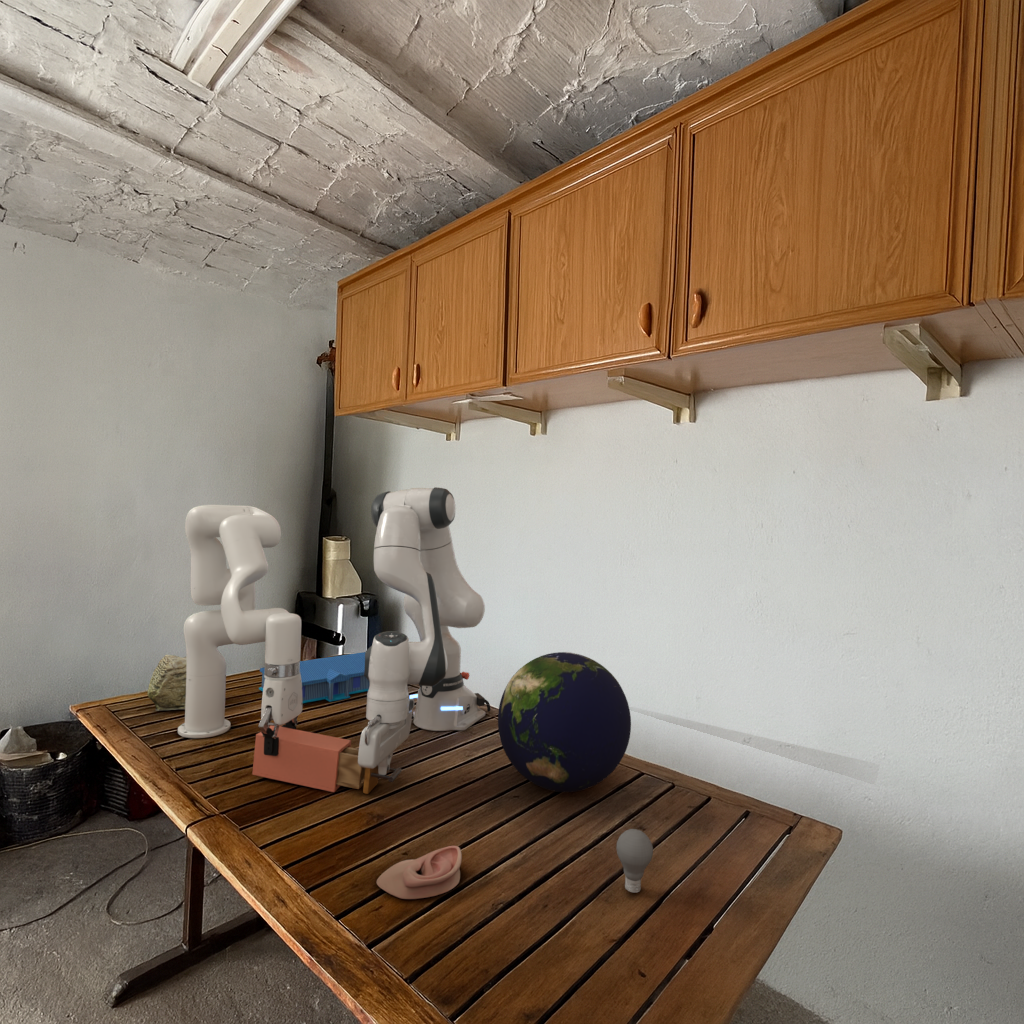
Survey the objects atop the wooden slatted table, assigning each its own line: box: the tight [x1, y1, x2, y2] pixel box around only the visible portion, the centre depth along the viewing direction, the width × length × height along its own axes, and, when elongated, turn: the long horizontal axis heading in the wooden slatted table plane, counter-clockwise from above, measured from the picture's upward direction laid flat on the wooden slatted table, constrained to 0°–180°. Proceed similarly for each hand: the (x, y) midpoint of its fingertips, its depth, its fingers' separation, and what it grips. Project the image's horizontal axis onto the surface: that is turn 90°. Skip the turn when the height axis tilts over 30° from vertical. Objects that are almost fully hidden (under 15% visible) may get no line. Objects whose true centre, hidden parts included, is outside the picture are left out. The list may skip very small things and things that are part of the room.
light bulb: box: [615, 828, 654, 894], centre depth 106 cm, size 6×6×10 cm
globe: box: [497, 651, 632, 793], centre depth 143 cm, size 30×30×30 cm
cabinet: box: [251, 725, 352, 793], centre depth 141 cm, size 20×6×9 cm, turn 79°
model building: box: [258, 651, 370, 704], centre depth 208 cm, size 39×24×10 cm, turn 132°
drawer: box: [336, 746, 403, 795], centre depth 139 cm, size 24×5×7 cm, turn 79°
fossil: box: [147, 654, 187, 712], centre depth 185 cm, size 9×18×15 cm, turn 132°
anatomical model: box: [376, 845, 463, 900], centre depth 106 cm, size 13×4×12 cm
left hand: (280, 748), depth 142 cm, fingers closed on cabinet, 6 cm apart
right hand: (383, 773), depth 136 cm, fingers closed
